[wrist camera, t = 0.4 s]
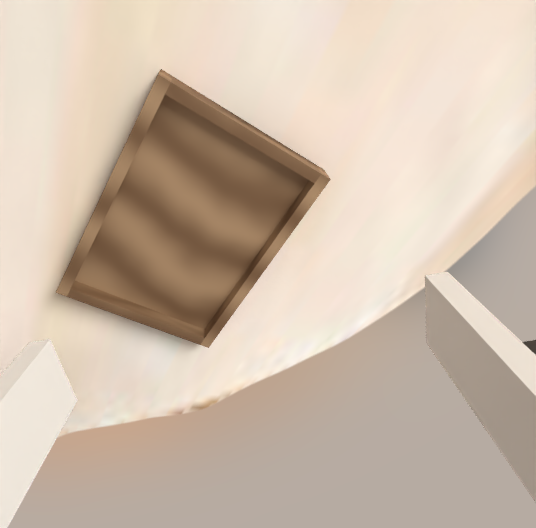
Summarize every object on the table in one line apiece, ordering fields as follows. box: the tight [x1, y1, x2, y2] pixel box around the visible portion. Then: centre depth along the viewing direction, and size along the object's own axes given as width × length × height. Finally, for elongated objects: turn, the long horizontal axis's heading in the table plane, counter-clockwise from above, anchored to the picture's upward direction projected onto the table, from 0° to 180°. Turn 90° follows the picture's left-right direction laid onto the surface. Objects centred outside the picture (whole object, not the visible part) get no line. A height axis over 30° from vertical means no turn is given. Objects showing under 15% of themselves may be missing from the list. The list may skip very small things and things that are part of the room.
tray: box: [56, 69, 330, 348], centre depth 39 cm, size 22×16×2 cm
